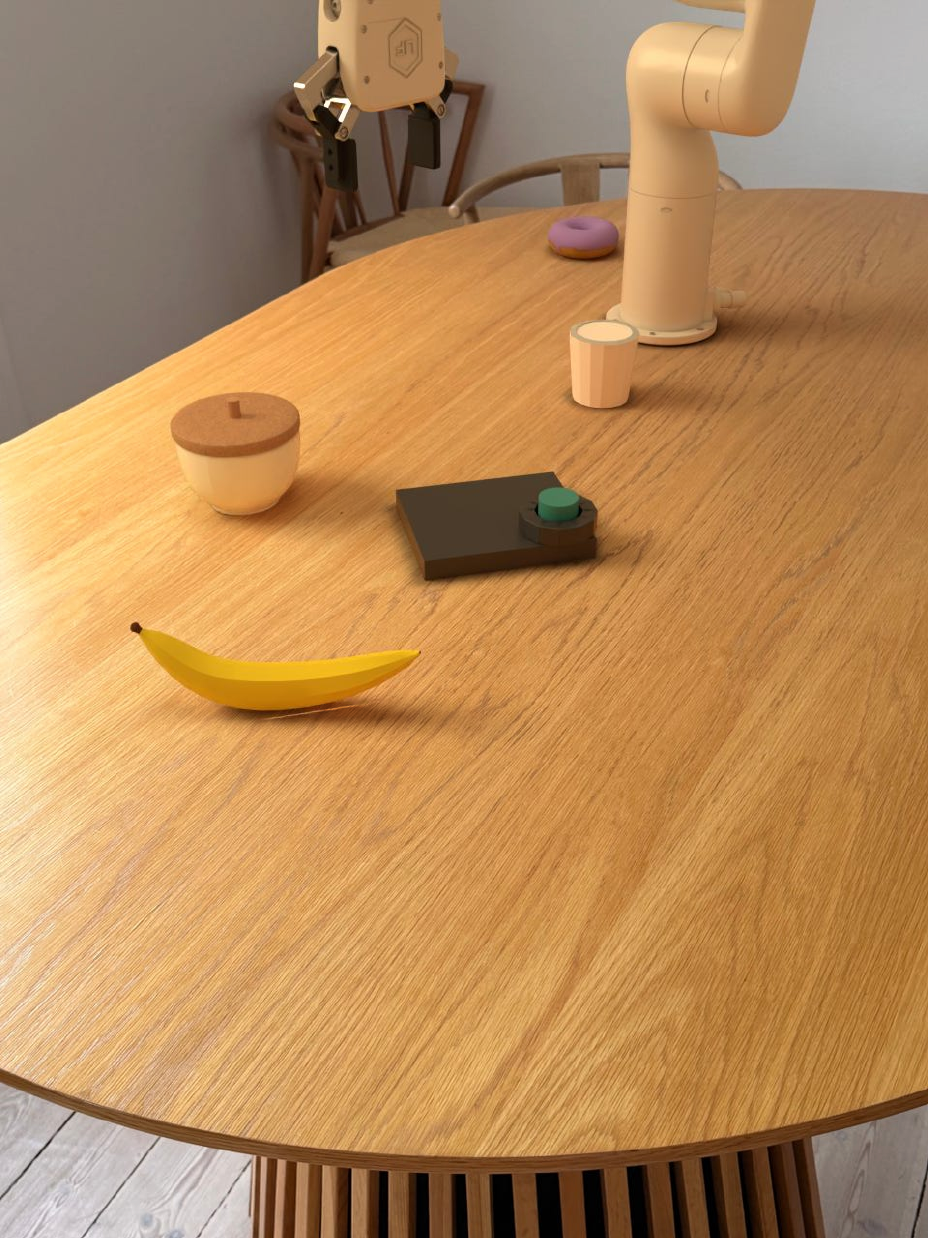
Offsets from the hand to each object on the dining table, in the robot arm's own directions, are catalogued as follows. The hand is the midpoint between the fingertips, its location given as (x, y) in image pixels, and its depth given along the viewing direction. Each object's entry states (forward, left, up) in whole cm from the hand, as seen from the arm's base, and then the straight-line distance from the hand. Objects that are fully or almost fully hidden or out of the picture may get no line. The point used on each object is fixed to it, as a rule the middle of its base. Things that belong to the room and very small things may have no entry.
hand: (384, 177), depth 100 cm
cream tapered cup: (-22, -6, -25) cm, 34 cm away
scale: (-5, +18, -25) cm, 31 cm away
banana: (+15, +37, -25) cm, 47 cm away
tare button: (-9, +21, -21) cm, 32 cm away
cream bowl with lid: (+15, +7, -25) cm, 30 cm away
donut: (-35, -52, -25) cm, 68 cm away
